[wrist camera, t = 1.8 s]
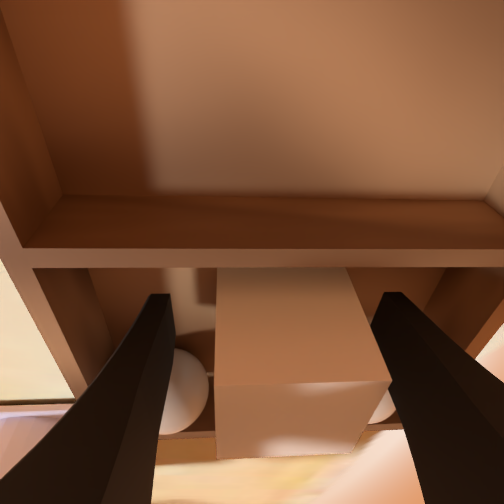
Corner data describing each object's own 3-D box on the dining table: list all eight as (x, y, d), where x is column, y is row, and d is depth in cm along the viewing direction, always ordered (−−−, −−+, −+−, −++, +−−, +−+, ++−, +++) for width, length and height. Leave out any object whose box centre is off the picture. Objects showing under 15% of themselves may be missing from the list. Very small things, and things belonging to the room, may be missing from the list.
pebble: (211, 374, 16) (208, 447, 14) (141, 376, 16) (125, 450, 13) (209, 331, 14) (205, 407, 12) (129, 332, 14) (108, 411, 11)
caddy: (393, 368, 18) (419, 428, 15) (116, 376, 17) (98, 442, 14) (807, -376, 5) (1285, -666, 3) (-217, -552, 4) (-827, -1283, 2)
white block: (316, 321, 14) (350, 453, 10) (218, 323, 14) (216, 459, 10) (336, 245, 12) (392, 380, 8) (217, 244, 11) (214, 386, 7)
